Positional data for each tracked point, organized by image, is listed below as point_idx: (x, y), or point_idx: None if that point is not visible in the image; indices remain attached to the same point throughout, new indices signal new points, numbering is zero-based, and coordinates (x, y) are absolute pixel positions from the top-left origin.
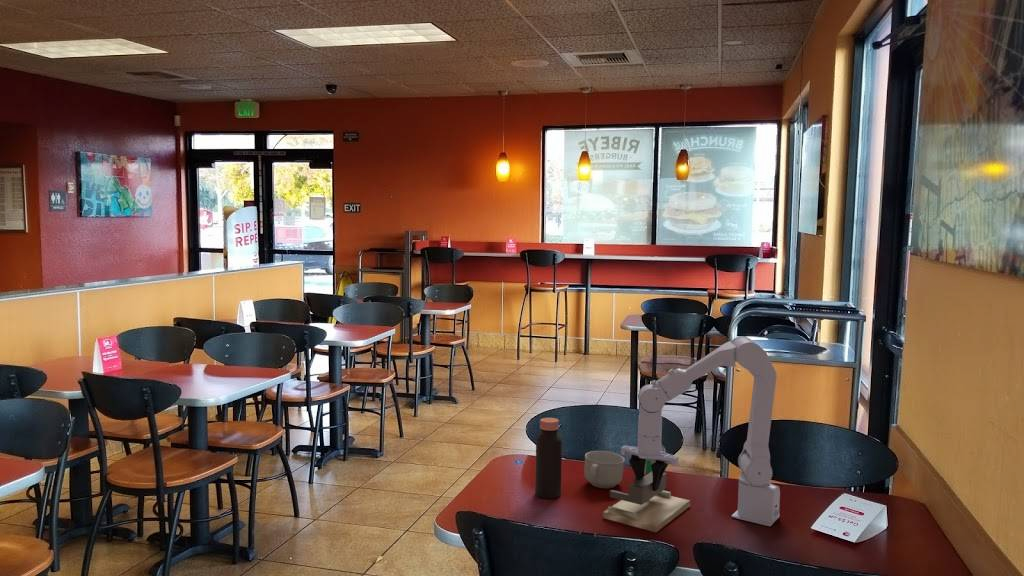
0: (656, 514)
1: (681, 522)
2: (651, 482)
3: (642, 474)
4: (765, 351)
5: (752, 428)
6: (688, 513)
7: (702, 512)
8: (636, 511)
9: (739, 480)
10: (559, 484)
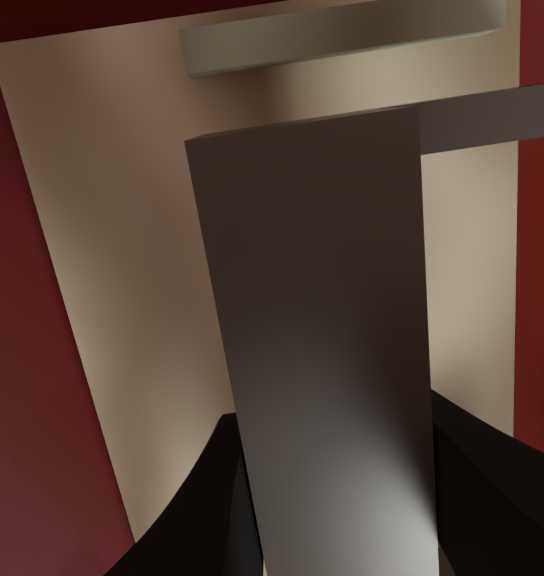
0: (155, 265)
1: (26, 349)
2: (247, 444)
3: (454, 537)
4: None
5: None
6: (96, 492)
7: (51, 556)
8: None
9: None
10: None
